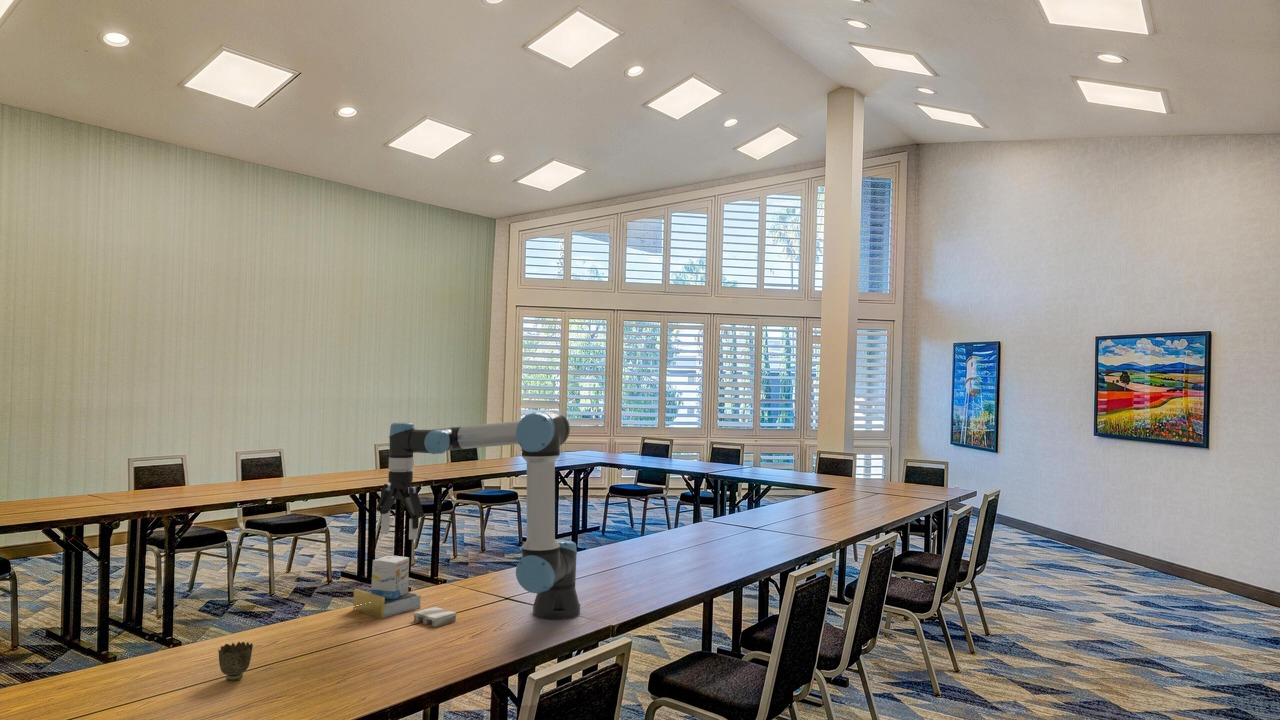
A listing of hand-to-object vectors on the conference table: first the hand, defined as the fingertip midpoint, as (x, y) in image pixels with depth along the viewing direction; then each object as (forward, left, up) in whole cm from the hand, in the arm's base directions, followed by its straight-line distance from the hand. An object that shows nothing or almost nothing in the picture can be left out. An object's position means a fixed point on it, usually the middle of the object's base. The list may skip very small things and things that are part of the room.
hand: (398, 536), depth 250 cm
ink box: (0, +2, -19) cm, 19 cm away
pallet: (-20, +2, -23) cm, 31 cm away
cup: (-19, +63, -23) cm, 69 cm away
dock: (+1, +3, -23) cm, 23 cm away
